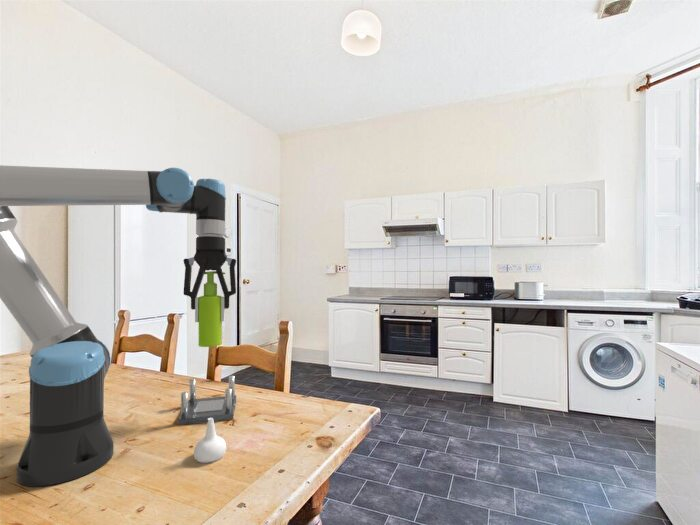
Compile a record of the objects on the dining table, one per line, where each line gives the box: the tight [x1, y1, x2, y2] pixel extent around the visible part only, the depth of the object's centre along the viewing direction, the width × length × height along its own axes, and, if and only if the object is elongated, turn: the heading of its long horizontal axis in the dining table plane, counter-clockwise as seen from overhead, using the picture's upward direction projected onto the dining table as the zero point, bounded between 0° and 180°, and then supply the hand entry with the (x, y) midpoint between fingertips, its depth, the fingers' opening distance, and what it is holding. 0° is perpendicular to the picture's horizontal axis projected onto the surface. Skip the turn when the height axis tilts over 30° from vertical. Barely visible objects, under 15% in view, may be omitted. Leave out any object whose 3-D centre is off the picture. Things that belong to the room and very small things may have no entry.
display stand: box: [177, 375, 237, 426], centre depth 98 cm, size 14×13×8 cm
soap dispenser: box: [198, 270, 226, 348], centre depth 99 cm, size 6×7×20 cm
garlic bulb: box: [193, 418, 227, 464], centre depth 75 cm, size 6×6×8 cm
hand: (210, 320), depth 99 cm, fingers closed on soap dispenser, 6 cm apart
